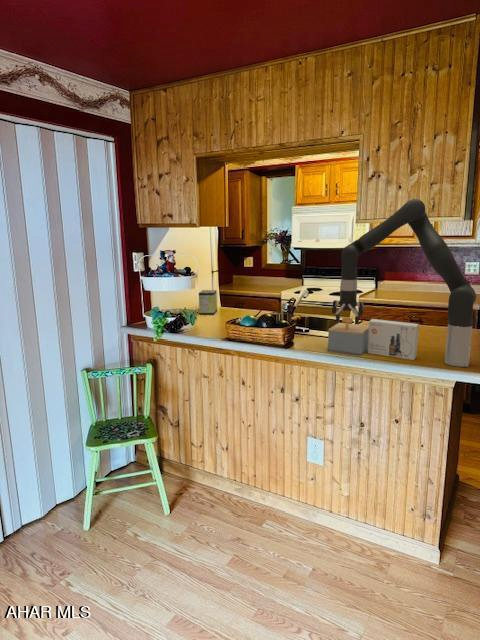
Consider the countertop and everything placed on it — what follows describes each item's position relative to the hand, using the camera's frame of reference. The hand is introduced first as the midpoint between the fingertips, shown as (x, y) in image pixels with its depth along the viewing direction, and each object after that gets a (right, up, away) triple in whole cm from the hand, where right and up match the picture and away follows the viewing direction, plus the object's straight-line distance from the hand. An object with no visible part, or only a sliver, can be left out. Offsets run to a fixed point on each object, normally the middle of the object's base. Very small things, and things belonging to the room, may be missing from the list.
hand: (347, 323), depth 201 cm
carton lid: (+3, -3, +5) cm, 6 cm away
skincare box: (+19, -15, -4) cm, 25 cm away
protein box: (-73, +6, +103) cm, 127 cm away
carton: (+3, -13, +7) cm, 15 cm away
